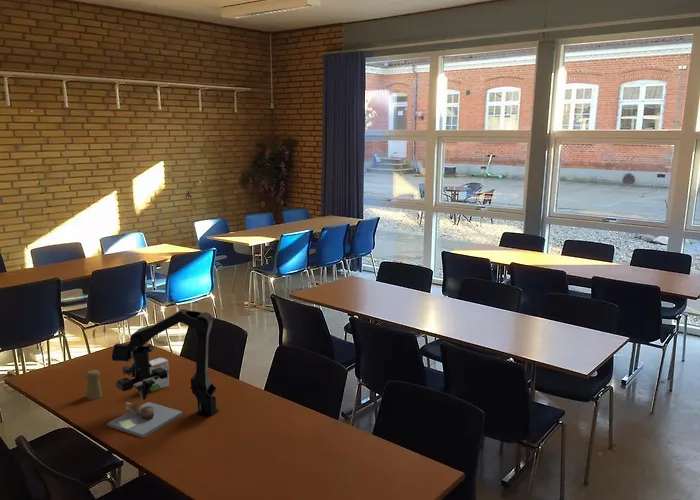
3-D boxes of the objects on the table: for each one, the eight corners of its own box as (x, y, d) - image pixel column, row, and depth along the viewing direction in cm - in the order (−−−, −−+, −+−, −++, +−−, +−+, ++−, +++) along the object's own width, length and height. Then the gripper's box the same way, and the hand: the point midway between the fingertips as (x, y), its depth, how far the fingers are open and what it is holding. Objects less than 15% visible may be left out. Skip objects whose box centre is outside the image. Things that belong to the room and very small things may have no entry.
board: (182, 414, 221) (182, 411, 220) (143, 437, 203) (142, 434, 203) (148, 404, 228) (148, 401, 228) (107, 426, 211) (107, 422, 210)
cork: (105, 393, 238) (103, 368, 236) (97, 399, 232) (95, 374, 230) (91, 392, 238) (89, 367, 236) (83, 398, 232) (81, 373, 230)
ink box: (152, 392, 240) (150, 365, 238) (145, 388, 243) (144, 362, 241) (169, 385, 247) (168, 359, 244) (163, 382, 250) (161, 356, 247)
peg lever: (156, 415, 216) (156, 408, 215) (146, 420, 212) (146, 412, 211) (131, 406, 223) (131, 398, 222) (122, 410, 219) (121, 403, 219)
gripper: (153, 350, 231) (154, 386, 234) (108, 362, 218) (110, 400, 221) (167, 357, 224) (169, 394, 227) (122, 370, 210) (124, 410, 213)
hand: (143, 399), depth 222 cm, fingers closed
